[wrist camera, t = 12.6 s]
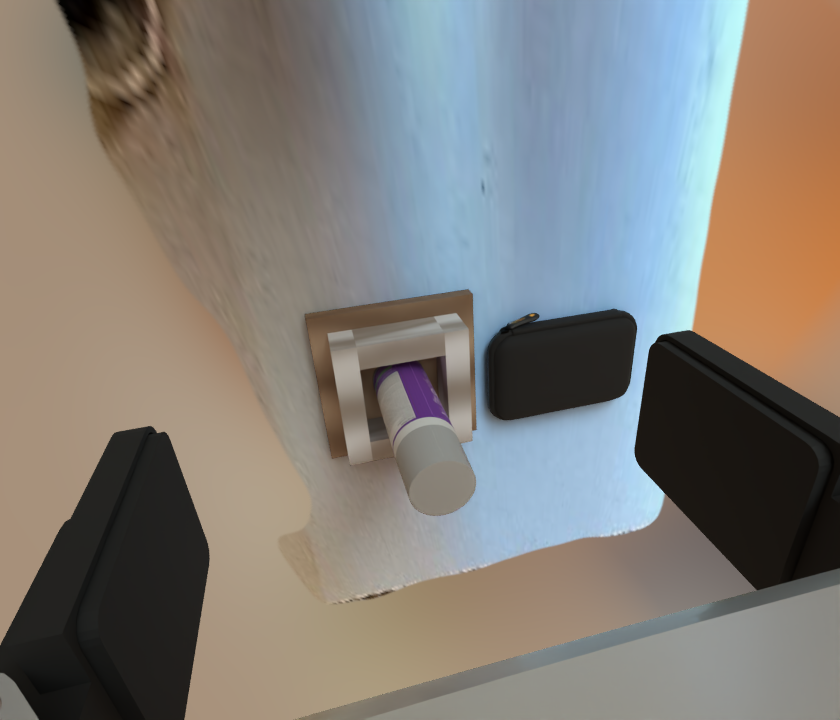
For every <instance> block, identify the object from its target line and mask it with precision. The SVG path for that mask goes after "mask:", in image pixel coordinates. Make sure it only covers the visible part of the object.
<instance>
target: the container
mask: <svg viewBox="0 0 840 720" xmlns="http://www.w3.org/2000/svg"><path fill="white" fill-rule="evenodd" d="M373 385H374V389H375V392H376V396H377V399H378V403H379V406H380V409H381V413H382V416H383V419H384V423H385V426H386V429H387V433H388V436H389V439H390V443H391V446H392V449H393V453H394V456H395V459H396V461H397V464H398V467H399V470H400V473H401V476H402V479H403V482H404V485H405V487H406V490H407V493H408V496H409V499H410V502H411V504H412V505H413V507H414V508H415V509H416V510H418V511H419V512H421V513H423V514H426V515H432V516H440V515H446V514H449V513H452V512H454V511H456V510H458V509H460V508H461V507H462V506H464V505H465V504H466V503H467V502H468V501H469V499H470V498H471V497H472V495H473V493H474V491H475V487H476V478H475V475H474V472H473V470H472V468H471V466H470V463H469V461H468V459H467V457H466V455H465V452H464V450H463V448H462V446H461V443H460V441H459V439H458V437H457V435H456V432H455V430H454V428H453V426H452V424H451V422H450V420H449V418H448V416H447V414H446V412H445V410H444V408H443V406H442V404H441V402H440V400H439V398H438V396H437V394H436V392H435V390H434V388H433V386H432V384H431V382H430V380H429V378H428V376H427V374H426V372H425V370H424V369H423V367H422V365H421V364H420V362H419V361H418V360H416V361H410V362H405V363H399V364H393V365H387V366H381V367H377V368H376V370H375V372H374V375H373Z"/></svg>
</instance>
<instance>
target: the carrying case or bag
mask: <svg viewBox="0 0 840 720" xmlns="http://www.w3.org/2000/svg"><path fill="white" fill-rule="evenodd" d="M538 318H539V314H537V313H532V314H528V315H526V316H524V317H522V318H520V319H518V320H515V321H513V322H510V323H508V324H507V326H506V327H504V328H502V329H501V330H500V332H499V333H498V334H497V335H495V336H494V338H493V339H492V340H491V342H490V344H489V347H488V352H487V358H488V406H489V409H490V411H491V413H492V414H493V415H494V416H495V417H497V418H499V419H502V420H513V419H519V418H524V417H529V416H534V415H539V414H544V413H549V412H554V411H560V410H565V409H570V408H575V407H580V406H585V405H590V404H596V403H601V402H605V401H610V400H613V399H616V398H619V397H621V396H622V395H624V394H625V392H626V391H627V389H628V386H629V384H630V379H631V372H632V364H633V356H634V348H635V341H636V333H637V324H636V321H635V319H634V318H633V316H632V315H630V314H629V313H627V312H625V311H620V310H617V309H611V310H607V311H600V312H594V313H588V314H581V315H575V316H569V317H563V318H556V319H550V320H544V321H538V322H533V321H535V320H537V319H538ZM530 322H531V323H530Z"/></svg>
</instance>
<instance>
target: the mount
mask: <svg viewBox="0 0 840 720" xmlns="http://www.w3.org/2000/svg"><path fill="white" fill-rule="evenodd" d="M305 317H306V324H307V329H308V334H309V340H310V345H311V350H312V355H313V361H314V366H315V371H316V377H317V382H318V387H319V392H320V398H321V403H322V408H323V413H324V419H325V424H326V429H327V435H328V440H329V445H330V450H331V456H332V458H337V457H342V456H347V455H348V457H349V463H350V466H351V465H356V464H361V463H366V462H371V461H376V460H380V459H385V458H390V457H395V456H394V453H393V449H392V446H391V443H390V439H389V436H388V433H387V429H386V426H385V423H384V419H383V416H382V413H381V409H380V406H379V403H378V399H377V396H376V392H375V389H374V385H373V375H374V372H375V370H376V368H377V367H381V366H387V365H393V364H399V363H405V362H410V361H416V360H418V361H419V362H420V364H421V365H422V367H423V369H424V370H425V372H426V374H427V376H428V378H429V380H430V382H431V384H432V386H433V388H434V390H435V392H436V394H437V396H438V398H439V400H440V402H441V404H442V406H443V408H444V410H445V412H446V414H447V416H448V418H449V420H450V422H451V424H452V426H453V428H454V430H455V432H456V435H457V437H458V439H459V441H460V443H465V442H470V441H472V431H473V430H476V397H475V362H474V326H473V294H472V293H471V292H470V291H469V290H468V289H467V290H461V291H454V292H448V293H441V294H434V295H428V296H421V297H415V298H408V299H401V300H395V301H388V302H382V303H375V304H368V305H362V306H355V307H349V308H342V309H335V310H329V311H322V312H316V313H309V314H305Z"/></svg>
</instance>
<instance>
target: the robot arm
mask: <svg viewBox="0 0 840 720" xmlns="http://www.w3.org/2000/svg"><path fill="white" fill-rule="evenodd" d="M635 457H636V461H637V463H638V465H639V466H640V467H641V468H642V470H643V471H644V472H645V473H646V474H647V475H648V476H649V477H650V478H651V479H652V480H653V481H654V482H655V483H656V484H657V485H658V486H659V487H660V489H661V490H662V491H663V492H664V493H665V494H666V495H667V496H668V497H669V498H670V499H671V500H672V501H673V502H674V503H675V504H676V505H677V506H678V507H679V509H680V510H681V511H682V512H683V513H684V514H685V515H686V516H687V517H688V518H689V519H690V520H691V521H692V522H693V523H694V524H695V525H696V526H697V527H698V529H699V530H700V531H701V532H702V533H703V534H704V535H705V536H706V537H707V538H708V539H709V540H710V541H711V542H712V543H713V544H714V545H715V547H716V548H717V549H718V550H719V551H720V552H721V553H722V554H723V555H724V556H725V557H726V558H727V559H728V560H729V561H730V562H731V563H732V564H733V566H734V567H735V568H736V569H737V570H738V571H739V572H740V573H741V574H742V575H743V576H744V577H745V578H746V579H747V580H748V581H749V582H750V583H751V584H752V586H753V587H754V588H755V589H756V590H757V591H754V592H750V593H746V594H742V595H739V596H736V597H731V598H728V599H724V600H721V601H717V602H713V603H709V604H705V605H702V606H698V607H694V608H691V609H687V610H684V611H680V612H677V613H673V614H669V615H666V616H662V617H658V618H655V619H651V620H647V621H644V622H640V623H636V624H633V625H629V626H625V627H622V628H618V629H615V630H611V631H607V632H604V633H600V634H597V635H593V636H589V637H586V638H582V639H578V640H575V641H572V642H568V643H564V644H561V645H557V646H553V647H550V648H546V649H543V650H539V651H535V652H532V653H528V654H524V655H521V656H517V657H514V658H510V659H506V660H503V661H499V662H496V663H492V664H489V665H485V666H482V667H478V668H474V669H471V670H467V671H464V672H460V673H457V674H453V675H450V676H447V677H443V678H439V679H436V680H432V681H429V682H425V683H422V684H418V685H414V686H411V687H407V688H404V689H400V690H397V691H393V692H390V693H386V694H382V695H379V696H375V697H372V698H368V699H365V700H361V701H358V702H354V703H351V704H348V705H344V706H340V707H337V708H333V709H330V710H326V711H323V712H319V713H315V714H312V715H309V716H305V717H302V718H299V719H295V720H840V417H838V416H836V415H835V414H833V413H831V412H829V411H828V410H826V409H824V408H823V407H821V406H819V405H817V404H816V403H814V402H812V401H811V400H809V399H807V398H806V397H804V396H802V395H800V394H799V393H797V392H795V391H794V390H792V389H790V388H788V387H787V386H785V385H783V384H782V383H780V382H778V381H777V380H775V379H773V378H772V377H770V376H768V375H766V374H765V373H763V372H761V371H760V370H758V369H756V368H754V367H753V366H751V365H749V364H748V363H746V362H744V361H743V360H741V359H739V358H737V357H736V356H734V355H732V354H731V353H729V352H727V351H725V350H723V349H722V348H720V347H719V346H717V345H715V344H714V343H712V342H710V341H708V340H707V339H705V338H703V337H701V336H700V335H698V334H696V333H695V332H693V331H690V330H687V331H681V332H675V333H669V334H664V335H661V336H659V337H658V338H657V340H656V342H655V343H654V344H653V345H651V347H650V349H649V354H648V361H647V368H646V375H645V381H644V388H643V395H642V402H641V409H640V415H639V422H638V429H637V436H636V443H635ZM208 568H209V548H208V543H207V540H206V537H205V534H204V532H203V529H202V526H201V523H200V521H199V518H198V515H197V512H196V510H195V507H194V504H193V502H192V499H191V496H190V493H189V491H188V488H187V485H186V482H185V479H184V477H183V474H182V472H181V468H180V466H179V463H178V460H177V457H176V455H175V452H174V449H173V447H172V444H171V441H170V439H169V436H168V435H167V433H165V432H161V433H157V432H156V430H155V429H154V428H153V427H151V426H148V427H143V428H137V429H131V430H126V431H120V432H116V433H114V434H113V435H112V437H111V439H110V441H109V443H108V445H107V447H106V449H105V451H104V453H103V455H102V457H101V459H100V461H99V463H98V465H97V467H96V469H95V471H94V473H93V475H92V477H91V479H90V481H89V483H88V485H87V487H86V489H85V491H84V493H83V495H82V497H81V499H80V501H79V503H78V505H77V507H76V509H75V511H74V513H73V515H72V517H71V519H69V520H68V521H66V522H65V523H64V524H63V526H62V527H61V529H60V530H59V532H58V534H57V536H56V538H55V540H54V542H53V544H52V546H51V548H50V550H49V551H48V554H47V555H46V557H45V559H44V561H43V563H42V566H41V567H40V569H39V571H38V573H37V575H36V577H35V579H34V581H33V583H32V585H31V586H30V589H29V590H28V592H27V594H26V596H25V598H24V600H23V602H22V604H21V606H20V608H19V610H18V612H17V614H16V616H15V618H14V620H13V622H12V624H11V626H10V627H9V629H8V631H7V633H6V636H5V637H4V639H3V641H2V643H1V645H0V720H184V718H185V712H186V705H187V699H188V692H189V687H190V680H191V674H192V668H193V661H194V655H195V649H196V642H197V637H198V630H199V623H200V617H201V611H202V604H203V599H204V593H205V586H206V579H207V574H208Z"/></svg>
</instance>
